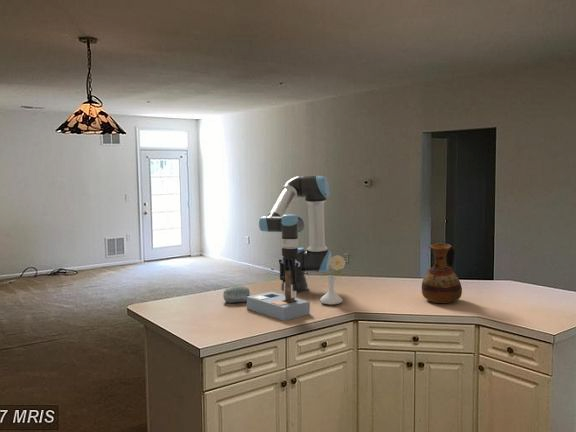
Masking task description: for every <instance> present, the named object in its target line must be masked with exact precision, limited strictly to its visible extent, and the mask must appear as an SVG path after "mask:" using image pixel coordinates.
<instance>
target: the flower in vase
mask: <svg viewBox="0 0 576 432" xmlns="http://www.w3.org/2000/svg"><path fill="white" fill-rule="evenodd" d="M329 264H330V266H329V267H330V268H331V269H333V270H335V271H334V273H333V272H331V271H329V270H328V271H327V273H329V274H332V275H326V278H327V281H328V291H327V292H326V293H325V294H324V295H322V297H320V299H319V301H320V302H321V303H322V304H325V305H339V304H341V303H343V299H342V297H341V295H339V294H338V293H336V292H335V290H334V285H335V284H334V283H335V281H336V279H337V276H336V275H335V274H337V275H338V276H340V275H344V274H345V271H342V269H344V267H345V266H346V261H345V258H344V257H343V256H341V255H337V254H336V255H333V256H331V259H330V262H329Z"/></svg>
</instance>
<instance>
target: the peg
mask: <svg viewBox="0 0 576 432" xmlns="http://www.w3.org/2000/svg"><path fill="white" fill-rule="evenodd" d="M291 283H292V279H291V271H290V270H285V302H287V303H293V302H295V298H296V297H295V298H291Z"/></svg>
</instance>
